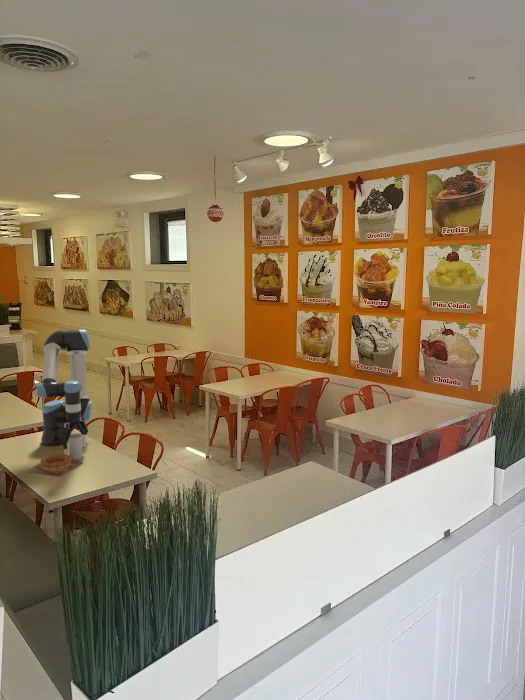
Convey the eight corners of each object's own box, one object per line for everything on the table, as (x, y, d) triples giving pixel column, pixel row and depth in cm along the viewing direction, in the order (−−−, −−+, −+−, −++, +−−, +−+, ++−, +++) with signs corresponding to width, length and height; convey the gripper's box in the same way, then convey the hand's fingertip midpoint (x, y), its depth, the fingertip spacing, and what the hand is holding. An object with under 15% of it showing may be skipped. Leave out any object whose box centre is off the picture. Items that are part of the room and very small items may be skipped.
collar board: (53, 458, 278) (53, 451, 277) (82, 463, 272) (82, 455, 271) (28, 471, 261) (28, 463, 260) (58, 476, 255) (58, 468, 255)
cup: (78, 461, 275) (77, 439, 273) (64, 459, 276) (63, 437, 274) (86, 455, 282) (85, 434, 280) (73, 454, 284) (71, 433, 282)
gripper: (82, 404, 288) (84, 442, 291) (50, 416, 264) (53, 457, 268) (94, 405, 285) (95, 443, 289) (63, 418, 262) (65, 459, 265)
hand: (75, 450), depth 278 cm, fingers open, 13 cm apart
